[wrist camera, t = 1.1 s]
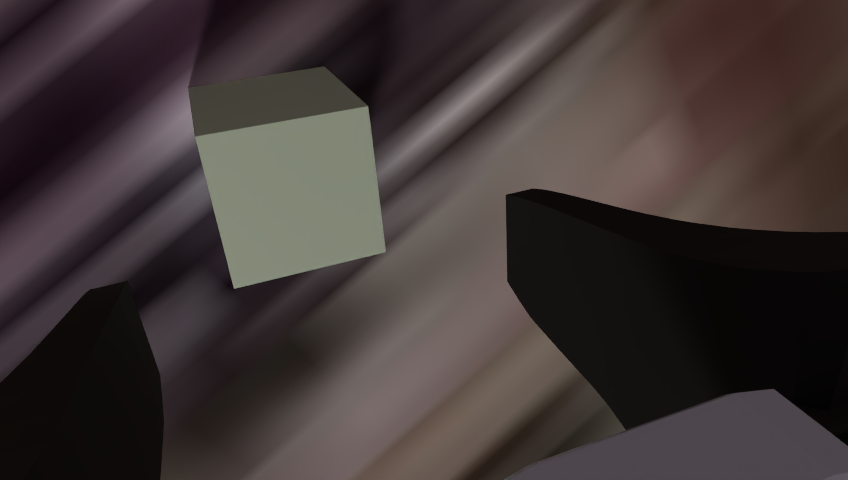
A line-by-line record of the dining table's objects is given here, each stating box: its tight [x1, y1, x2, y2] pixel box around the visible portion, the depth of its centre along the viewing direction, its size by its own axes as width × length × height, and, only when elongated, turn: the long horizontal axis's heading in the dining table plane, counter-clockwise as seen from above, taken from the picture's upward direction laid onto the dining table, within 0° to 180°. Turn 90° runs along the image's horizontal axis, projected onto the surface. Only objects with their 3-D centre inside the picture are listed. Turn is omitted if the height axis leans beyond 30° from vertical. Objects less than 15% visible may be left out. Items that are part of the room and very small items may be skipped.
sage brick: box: [188, 66, 386, 289], centre depth 18 cm, size 4×4×5 cm
